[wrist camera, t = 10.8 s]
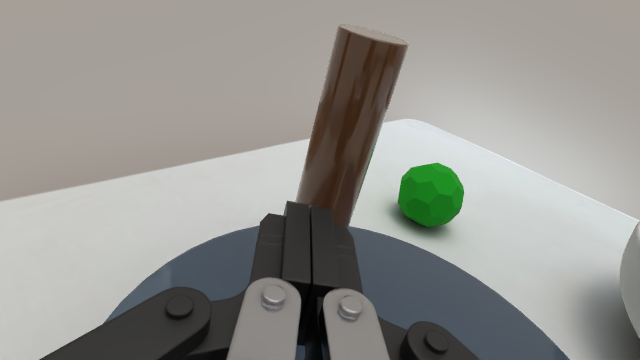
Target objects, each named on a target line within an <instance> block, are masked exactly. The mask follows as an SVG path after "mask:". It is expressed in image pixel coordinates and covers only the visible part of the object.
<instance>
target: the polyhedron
mask: <svg viewBox="0 0 640 360" xmlns="http://www.w3.org/2000/svg"><path fill="white" fill-rule="evenodd" d="M463 195H464V189H463V185H462V184H461V182H460V180H459V178H458V177H457V175H456V174H455V173H454V172H453V171H452V169H451V168H448V167H446V166H444V165H442V164H439V163H433V164H428V165H422V166H417V167H412V168H411V169H410V170H409V171H408V172H407V173H406V174H405V175H404V176H403V177H402V180H401V185H400V192H399V198H398V204H399V206H400V208H401V210H402V212H403V214H404V215H405V216H407V217H408V218H409V219H411V220H413V221H415V222H416V223H418V224H420V225H422V226H427V227H430V226H437V225H443V224H445V223H448V222H450V221H451V220H452V219H453V218H454V217H455V216H456V215H457V214H458V213H459V212H460V209H461V207H462V202H463Z"/></svg>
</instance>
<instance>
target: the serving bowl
mask: <svg viewBox="0 0 640 360" xmlns="http://www.w3.org/2000/svg"><path fill="white" fill-rule="evenodd" d="M620 286H621V293H622V297H623V301H624V305H625V308H626V311H627V314H628V317H629V319H630V321H631V323H632V325H633V327H634V329H635V331H636V333H637V335H638V337H639V339H640V222H639V223H638V224H637V225H636V227H635V229H634V231H633V233H632V235H631V237H630V239H629V241H628V243H627V246H626V248H625V251H624V254H623V257H622V261H621V267H620Z"/></svg>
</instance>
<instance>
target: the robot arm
mask: <svg viewBox="0 0 640 360" xmlns="http://www.w3.org/2000/svg"><path fill="white" fill-rule="evenodd" d="M297 345H300V346H305V358H304V360H480V359H479V358H478V357H477V356H476V355H475V354H474V353H472V352H471V351H470V350H469V349H468V348H467V347H466V346H465V345H463V344H462V343H461V342H460V341H459V340H458V339H457V338H456V337H454V336H453V335H452V334H451V333H450V332H449V331H447V330H446V329H445V328H443V327H442V326H440V325H438V324H435V323H432V322H428V321H419V322H415V323H414V324H412V325H411V326H410V328H409V329H408V330H407V329H404V328H402V327H399V326H397V325H395V324H392V323H390V322H388V321H386V320H384V319H382V318H381V317H379V316H378V315H377V314H376V310H375V308H374V306H373V304H372V303H371V302H370V300H369V299H368V298H367V297H365V296H364V294H363V289H362V283H361V278H360V272H359V266H358V261H357V255H356V251H355V244H354V239H353V236H352V235H351V233H350V232H349V231H348V229H347V228H346V226H341V225H335V224H334V217H333V210H332V209H331V208H325V207H319V206H314V205H310V206H309V205H308V204H302V203H296V202H291V201H287V203H286V206H285V211H284V215H283V216H282V215H276V214H270V213H268V214H267V216H266V217H265V218H264V219H263V220H262V221H261V222H260V227H259V232H258V237H257V242H256V247H255V253H254V258H253V263H252V269H251V275H250V280H249V284H248V286H247V287H246V288H245V290H243V291H242V292H241V293H239V294H238V295H236V296H234V297H231V298H228V299H223V300H216V301H210V300H209V299H208V297H207V296H206V295H205V294H204V293H202V292H201V291H199V290H197V289H194V288H190V287H174V288H169V289H166V290H164V291H162V292H160V293H158V294H156V295H154V296H153V297H151V298H149V299H147V300H145V301H144V302H142V303H140V304H138V305H136V306H135V307H133V308H131V309H129V310H127V311H126V312H124V313H122V314H120V315H119V316H117V317H115V318H113V319H111V320H110V321H108V322H106V323H104V324H102V325H101V326H99V327H97V328H95V329H93V330H92V331H90V332H88V333H86V334H84V335H83V336H81V337H79V338H77V339H76V340H74V341H72V342H70V343H68V344H67V345H65V346H63V347H61V348H59V349H58V350H56V351H54V352H52V353H50V354H49V355H47V356H45V357H43V358H42V359H40V360H295V355H296V346H297Z"/></svg>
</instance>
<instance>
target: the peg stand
mask: <svg viewBox="0 0 640 360" xmlns="http://www.w3.org/2000/svg"><path fill="white" fill-rule="evenodd" d="M408 46H409V44H408V43H407V42H405V41H404V40H402V39H399V38H397V37H394V36H391V35H388V34H385V33H382V32H378V31H375V30H370V29H367V28H363V27H358V26H353V25H346V24H340V25H338V27H337V31H336V35H335V39H334V44H333V48H332V52H331V56H330V60H329V65H328V68H327V73H326V77H325V81H324V85H323V89H322V93H321V97H320V102H319V106H318V110H317V114H316V118H315V122H314V126H313V131H312V135H311V139H310V143H309V147H308V151H307V156H306V160H305V164H304V168H303V172H302V176H301V180H300V185H299V189H298V193H297V197H296V201H295V202H296V203H302V204H308V205H309V206H310V205H314V206H319V207H325V208H331V209H332V210H333V217H334V224H335V225H341V226H346V228H347V229H348V231H349V232H350V233H351V235H352V236H353V239H354V244H355V251H356V255H357V261H358V266H359V272H360V278H361V283H362V289H363V294H364V296H365V297H367V298H368V299H369V300H370V302H371V303H372V304H373V306H374V308H375V310H376V314H377V315H378V316H379V317H381V318H382V319H384V320H386V321H388V322H390V323H392V324H395V325H397V326H399V327H402V328H404V329H407V330H408V329H409V328H410V326H411V325H412V324H414V323H415V322H419V321H428V322H432V323H435V324H438V325H440V326H442V327H443V328H445V329H446V330H447V331H449V332H450V333H451V334H452V335H453V336H454V337H456V338H457V339H458V340H459V341H460V342H461V343H462V344H463V345H465V346H466V347H467V348H468V349H469V350H470V351H471V352H472V353H474V354H475V355H476V356H477V357H478V358H479V359H480V360H570V359H569V358H568V357H567V356H566V355H565V354H564V353H563V352H562V351H561V350H560V349H559V348H558V347H557V346H556V345H555V343H554V342H553V341H552V340H551V339H550V338H549V337H548V336H547V335H546V334H545V333H544V332H543V331H542V330H540V329H539V328H538V327H537V326H536V325H535V324H534V323H533V322H532V321H531V320H529V319H528V318H527V317H526V316H525V315H524V314H523V313H522V312H521V311H519V310H518V309H517V308H516V307H514V306H513V305H512V304H511V303H509V302H508V301H507V300H506V299H504V298H503V297H502V296H500V295H499V294H498V293H497V292H495V291H494V290H492V289H491V288H489V287H488V286H487V285H485V284H484V283H482V282H481V281H479V280H478V279H476V278H475V277H473V276H472V275H470V274H468V273H467V272H465V271H463V270H462V269H460V268H458V267H457V266H455V265H454V264H452V263H450V262H448V261H446V260H444V259H442V258H440V257H438V256H436V255H434V254H432V253H430V252H428V251H426V250H423V249H421V248H419V247H417V246H414V245H412V244H410V243H407V242H404V241H401V240H399V239H396V238H393V237H390V236H387V235H384V234H380V233H377V232H373V231H369V230H365V229H360V228H356V227H351V226H349V223H350V220H351V217H352V214H353V211H354V208H355V205H356V202H357V199H358V196H359V193H360V190H361V187H362V184H363V181H364V178H365V175H366V172H367V169H368V166H369V163H370V160H371V157H372V154H373V151H374V148H375V145H376V142H377V139H378V136H379V133H380V130H381V127H382V124H383V121H384V118H385V115H386V112H387V109H388V106H389V103H390V100H391V97H392V94H393V91H394V88H395V85H396V82H397V79H398V76H399V73H400V70H401V67H402V64H403V61H404V58H405V55H406V52H407V49H408ZM259 227H260V226H255V227H251V228H246V229H242V230H238V231H234V232H231V233H228V234H225V235H222V236H219V237H216V238H213V239H211V240H209V241H207V242H205V243H202V244H200V245H198V246H196V247H194V248H191V249H190V250H188V251H186V252H184V253H183V254H181V255H179V256H178V257H176V258H174V259H173V260H171V261H169V262H168V263H166V264H165V265H164V266H162V267H161V268H160V269H158V270H157V271H156V272H154V273H153V274H152V275H150V276H149V277H148V278H146V279H145V280H144V281H143V282H142V283H141V284H140V285H139V286H137V287H136V288H135V289H134V290H133V291H132V292H131V293H130V294H129V295H128V296H127V297H126V298H125V299H124V300H123V301H122V302H121V303H120V304H119V305H118V306H117V308H116V309H115V310H114V311H113V312H112V314H111V315H110V316H109V317H108V318H107V320H106V321H105V322H104V323H106V322H108V321H110V320H111V319H113V318H115V317H117V316H119V315H120V314H122V313H124V312H126V311H127V310H129V309H131V308H133V307H135V306H136V305H138V304H140V303H142V302H144V301H145V300H147V299H149V298H151V297H153V296H154V295H156V294H158V293H160V292H162V291H164V290H166V289H169V288H174V287H190V288H194V289H197V290H199V291H201V292H202V293H204V294H205V295H206V296H207V297H208V299H209V300H210V301H216V300H223V299H228V298H231V297H234V296H236V295H238V294H239V293H241V292H242V291H243V290H245V288H246V287H247V286H248V284H249V280H250V275H251V269H252V263H253V258H254V253H255V247H256V242H257V237H258V232H259ZM104 323H103V324H104ZM304 358H305V346H300V345H297V346H296V355H295V360H304Z"/></svg>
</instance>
